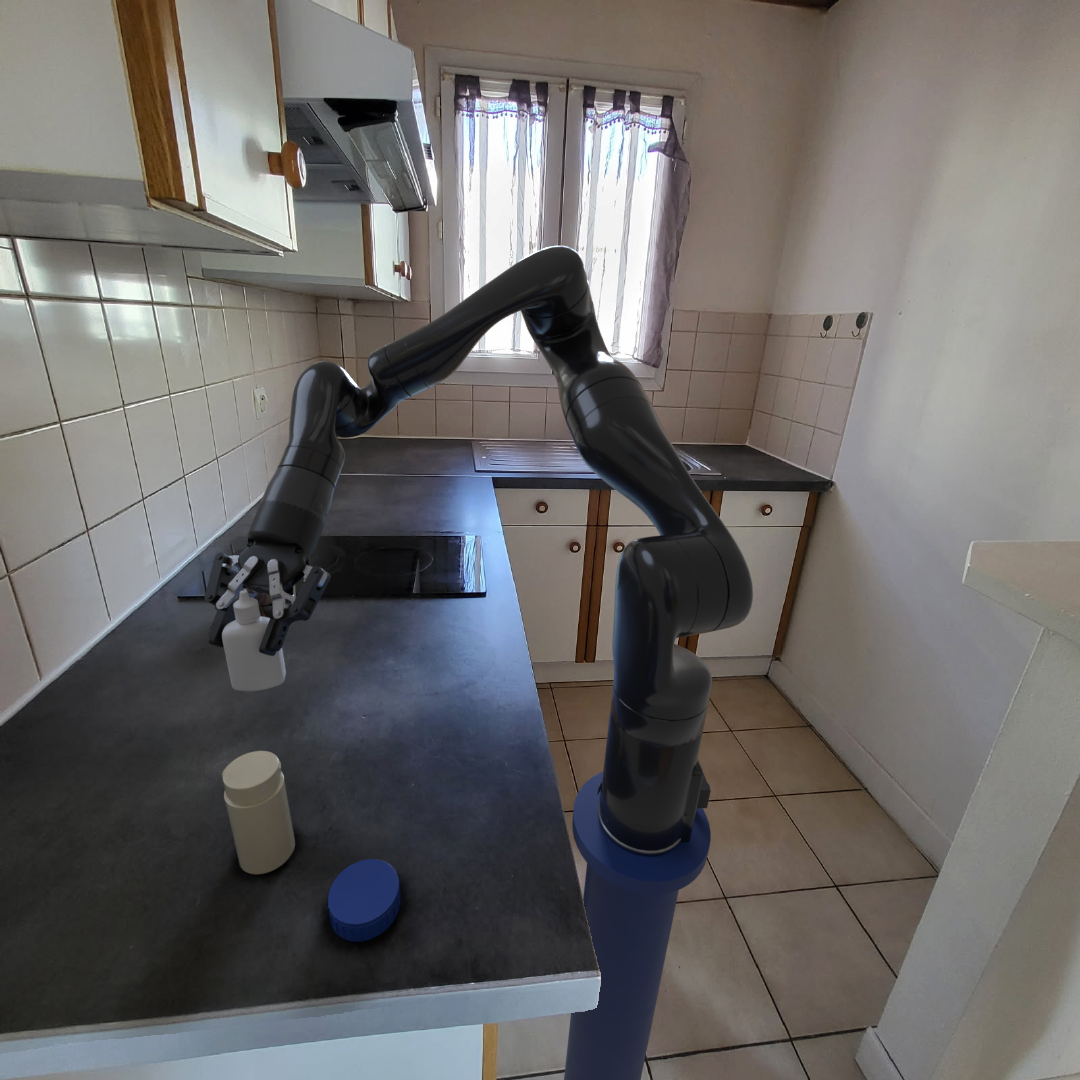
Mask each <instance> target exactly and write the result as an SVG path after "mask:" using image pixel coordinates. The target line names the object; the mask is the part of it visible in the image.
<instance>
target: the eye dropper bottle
mask: <svg viewBox="0 0 1080 1080" xmlns="http://www.w3.org/2000/svg"><path fill="white" fill-rule="evenodd" d="M233 608H234V613H235V618H236V620H235V621H232V622H230V623H229V624H227V625H226V626H225V628H224V630H223V632H222V640H223V646H224V648H223V650H224V655H225V660H226V664H227V665H226V666H227V670H228V675H229V680H230V684H231V688H232V689H233V690H235V691H238V692H259V691H264V690H269V689H272V688H276V687H278V686H280V685H282V684H283V683H284V681H285V680H286V676H287V675H286V674H287V670H286V664H285V657H284V651H283V647H282V648H281V649H280V650H279V651H277V652H276V654H275V655H274V656H269V655H265V654H262V653H260V652H259V647H260V644H261V642H262V639H263V636H264V633H265V631H266V628H267V625H268V623H269V620H270V619H271V618H270V617H268V616H266V617H262V616H260V611H259V605H258V601H257V600H256V599H255V598H250V597H249V595H248V592H247V591H246V590H242V591H240V598H239V600H238V601H236V602H235V603H234V604H233Z"/></svg>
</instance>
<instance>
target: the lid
mask: <svg viewBox="0 0 1080 1080" xmlns="http://www.w3.org/2000/svg"><path fill="white" fill-rule="evenodd" d="M400 881H401V880H399V876H398V873H397V871H396V869H395V868H394V867H393V866H392V865H391V864H390V863H388V862H386V861H384V860H381V859H377V858H369V859H368V858H367V859H363V860H359V861H357V862H355V863H352V864H351V865H349V866H347V867H346V868H345V869H343V870H342V871H341V872H340V873H338V875H337V876H336V877H335V879H334V881H333V882H332V883H331V886H330V889H329V891H328V895H327V897H328V898H327V905H328V906H327V913H328V918H329V921H330V925H331V929H333V931H334V933H335V934H336V935H337V936H338V937H340V938H341V939H342V940H344V941H348V942H351V943H360V942H361V943H362V942H367V941H371V940H373V939H374V938H377V937H378V936H380V935H382V934H383V933H384V932H385V931H386V930H387V929H389V928H390V926H391V925H392V924H393V923H394V921H395V920H396V919H397V918H396V917H397V916H398V913H399V911H400V909H401V908H400V906H401V902H402V894H401V883H400Z"/></svg>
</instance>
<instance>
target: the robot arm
mask: <svg viewBox="0 0 1080 1080" xmlns="http://www.w3.org/2000/svg"><path fill="white" fill-rule="evenodd" d="M518 312H520V313H521V316H522V318H523V321H524V324H525V328H526V329H527V331H528V334H529V335H530V337H531V338H532V340H533V342H534V344H535V345H536V347H537V348H538V349H539V351H540V352H541V354H542V356H543V358H544V359H545V361H546V363H547V364H548V366H549V368H550V370H551V372H552V373H553V376H554V378H555V380H556V384H557V391H558V397H559V398H558V399H559V403H560V407H561V411H562V415H563V418H564V421H565V423H566V426H567V428H568V431H569V433H570V435H571V438H572V441H573V443H574V445H575V448H576V450H577V452H578V455H579V457H580V458H581V459H582V461H583V463H585V465H586V466H587V468H588V469H590V470H591V471H592V472H593V473H594V474H595V475H596V476H597V477H598V478H600V479H601V480H602V481H603V482H605V484H606V485H608V486H610V487H611V488H612V489H613V490H615V491H616V492H618V494H620V495H622V496H623V497H624V498H625V499H627V500H629V501H630V502H631V503H632V504H634V506H636V507H637V508H638V509H639V510H641V512H643V513H644V515H645V516H646V517H647V518H648V519H649V521H650V522H651V523H652V525H653V526H654V528H655V529H656V530H657V532H658V534H659V535H652V536H645V537H644V536H643V537H638V538H635V539H632V540H631V541H630V542H628V543H627V544H626V545H625V547H624V549H623V550H622V552H621V554H620V556H619V559H618V563H617V567H616V572H615V581H614V582H615V584H614V605H613V607H614V608H613V624H612V641H611V643H612V644H611V649H612V650H611V651H612V659H613V660H612V662H613V670H614V671H613V681H612V691H611V698H610V699H611V701H610V710H609V719H608V727H607V734H606V743H605V753H604V761H603V771H602V772H603V778H602V783H601V784H600V786H599V788H598V794H599V792H600V791H601V794H600V801H599V806H598V818H599V822H600V825H601V827H602V829H603V831H604V833H605V834H606V835H607V836H608V838H609V839H610V840H611V841H612V842H613V843H615V844H616V845H617V846H619V847H620V848H622V849H624V850H626V851H628V852H630V853H633V854H637V855H641V856H659V855H663V854H666V853H668V852H670V851H672V850H673V849H675V848H676V847H677V846H678V845H679V844H680V843H682V842H689V841H690V838H691V833H692V828H693V823H694V818H695V813H696V808H703V809H708V806H709V801H710V796H711V792H712V791H711V786H710V783H708V781H707V779H706V776H705V773H704V770H703V768H702V765H701V762H700V761H699V753H700V748H701V743H702V739H703V734H704V728H705V723H706V718H707V712H708V708H709V703H710V697H711V693H712V686H713V678H712V673H711V670H710V668H709V666H708V665H707V664H706V663H705V661H704V660H703V659H702V658H701V657H699V656H698V655H697V654H695V653H694V652H692V651H691V650H689V649H687V648H686V647H683V646H681V645H679V644H675V642H676V639H679V638H680V639H681V638H685V637H690V636H691V637H692V636H695V635H702V634H708V633H713V632H717V631H721V630H725V629H731V628H733V627H736V626H738V625H740V624H742V622H744V621H745V620H746V618H747V617H748V616H749V615H750V612H751V609H752V606H753V602H754V600H753V599H754V586H753V580H752V576H751V572H750V567H749V565H748V563H747V560H746V559H745V555H744V554H743V552H742V550H741V548H740V546H739V545H738V543H737V541H736V540H735V538H734V536H733V535H732V533H731V531H729V529H728V528H727V526H726V524H724V521H722V519H721V518H720V516H719V515H718V513H717V512H716V510H715V509H714V507H713V506H712V505H711V504H710V502H709V500H708V499H707V497H706V496H705V494H703V492H702V491H701V489H700V487H699V486H698V485H697V483H696V481H695V480H694V479H693V477H692V476H691V474H690V472H689V470H688V469H687V468H686V466H685V464H684V462H683V460H682V458H681V457H680V456H679V453H678V451H677V450H676V448H675V447H674V445H673V443H672V442H671V440H670V438H669V436H668V435H667V432H666V430H665V429H664V426H663V425H662V422H661V420H660V419H659V417H658V414H657V412H656V410H655V408H654V406H653V404H652V402H651V400H650V399H649V396H648V395H647V393H646V391H645V389H644V387H643V386H642V384H641V382H640V381H639V379H638V377H637V376H636V375H635V374H634V373H633V371H632V370H631V369H630V368H629V367H628V366H627V365H625V364H624V363H623V362H621V361H619V360H618V359H616V358H615V357H614V356H613V355H611V353H610V351H609V349H608V348H607V346H606V343H605V341H604V338H603V335H602V333H601V330H600V327H599V323H598V320H597V315H596V309H595V305H594V301H593V297H592V293H591V288H590V284H589V280H588V275H587V271H586V268H585V264H584V261H583V259H582V256H581V255H580V254H579V253H578V252H577V251H576V250H574V249H573V248H571V247H569V246H565V245H554V246H548V247H545V248H542V249H540V250H537V251H535V252H533V253H531V254H529V255H527V256H525V257H524V258H522V259H520V260H519V261H518V262H516V263H514V264H513V265H512V266H509V268H507V269H505V271H503V272H501V273H500V274H498V275H497V276H496V277H494V278H493V279H491V280H490V281H489V282H487V283H485V284H484V285H483V286H481V287H480V288H479V289H477V290H476V291H474V292H473V293H472V294H470V295H469V296H468V297H466V298H465V299H463V300H461V302H459V303H458V304H456V305H455V306H454V307H452V308H451V309H450V310H448V311H446V312H445V313H443V314H442V315H440V316H439V317H437V318H436V319H434V320H432V321H431V322H429V323H427V324H426V325H424V326H422V327H420V328H418V329H416V330H414V331H411V332H410V333H408V334H406V335H404V336H401V337H399V338H398V339H396V340H393V341H391V342H389V343H387V344H385V345H383V346H380V347H379V348H376V349H375V350H373V351H372V352H370V354H368V356H367V358H366V367H367V368H366V369H367V371H368V374H369V377H370V379H371V380H370V381H369V382H368V383H367V384H366V385H365V386H364V387H362V388H361V387H360V386H359V385H358V384H357V383H356V382H355V380H354V379H353V378H352V377H351V376H350V374H349V373H348V372H347V371H346V370H345V369H344V368H343V367H342V366H341V365H340V364H339V363H336V362H333V361H331V360H320V361H316V362H314V363H312V364H310V365H309V366H308V367H306V368H305V369H304V370H303V371H302V372H301V373H300V374H299V376H298V378H297V380H296V382H295V384H294V387H293V391H292V396H291V402H290V403H291V404H290V413H289V422H288V437H287V438H288V439H287V443H286V445H285V448H284V450H283V452H282V454H281V457H280V460H279V462H278V465H277V468H276V470H275V471H274V473H273V475H272V477H271V478H270V480H269V482H268V483H267V485H266V488H265V490H264V492H263V495H262V498H261V499H260V502H259V505H258V507H257V510H256V512H255V515H254V517H253V520H252V522H251V525H250V527H249V529H248V532H247V545H246V546H245V548H244V549H243V550H242V551H241V552H240V553H239V554H236V555H234V554H233V555H227V554H226V553H223V552H217V554H215V555H214V557H213V558H214V559H213V563H212V566H211V570H210V573H209V578H208V582H207V585H206V590H205V595H204V601H205V602H207V603H209V604H210V605H213V606H214V608H215V607H216V608H217V610H216V614H215V615H214V618H213V620H212V622H211V625H210V628H209V630H208V632H207V639H208V644H209V645H211V646H214V647H219V648H222V649H224V646H223V640H222V632H223V630H224V628H225V626H226V625H227V624H229V623H230V622H232V621H235V620H236V618H235V613H234V608H233V604H234V603H235V602H236V601H238V600H239V598H240V591H242V590H246V591H247V592H248V595H249V597H250V598H254V597H255V596H256V595H257V594H258V593H270V598H271V599H272V604H273V606H272V617H273V618H270V620H269V623H268V625H267V628H266V631H265V633H264V636H263V639H262V642H261V644H260V647H259V652H260V653H262V654H265V655H269V656H274V655H275V654H276V652H277V651H279V650H280V649H281V648H282V649H283V646H284V643H285V640H286V637H287V634H288V633H289V628H290V626H291V625H292V624H293V623H294V622H298V621H304V622H307V621H308V620H310V618H311V617H312V614H313V613H314V611H315V609H316V607H317V605H318V603H319V602H320V599H321V598H322V596H323V594H324V592H325V590H326V589H327V587H328V584H329V582H330V581H331V577H332V576H331V574H330V573H329V572H327V571H326V570H324V568H321V566H319V565H315V566H311V564H310V560H311V558H312V557H313V556H314V555H315V552H316V549H317V547H318V544H319V541H320V538H321V536H322V532H323V530H324V527H325V524H326V521H327V520H328V519H327V518H328V515H329V513H330V510H331V507H332V503H333V498H334V493H335V490H336V487H337V484H338V481H339V478H340V477H341V476H340V475H341V473H342V469H343V467H344V463H345V459H346V452H345V449H344V447H343V445H342V443H341V442H340V439H339V438H341V439H346V438H347V439H350V438H355V437H359V436H361V435H363V434H365V433H367V432H368V431H369V430H371V429H372V428H373V427H374V426H376V425H377V424H378V423H379V422H380V421H381V420H383V418H385V417H386V416H387V415H388V414H389V413H390V412H392V411H393V410H394V409H395V408H396V407H397V406H398V405H399V404H401V403H402V402H403V401H405V400H406V399H409V398H412V397H413V396H415V395H417V394H420V393H422V392H424V391H426V390H429V389H430V388H432V387H434V386H436V385H439V384H440V383H441V382H443V381H445V380H447V379H448V378H449V377H450V376H451V375H453V374H454V373H455V372H456V371H457V370H458V369H459V368H460V366H461V365H462V364H463V363H464V361H465V360H466V359H467V357H468V356H469V355H470V354H471V352H472V351H473V349H474V348H475V347H476V346H477V344H478V343H479V341H481V339H482V338H483V337H484V336H485V335H486V334H487V333H488V332H489V331H490V329H492V328H493V327H494V326H496V325H497V324H498V323H499V322H502V320H504V319H506V318H508V317H509V316H511V315H514V314H516V313H518ZM301 580H303V583H302V585H301V588H300V590H299V591H298V593H297V590H296V585H297V584H298V583H299V582H300V581H301ZM244 584H245V586H246V587H247V588H246V589H244V588H242V587H243V585H244Z"/></svg>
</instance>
